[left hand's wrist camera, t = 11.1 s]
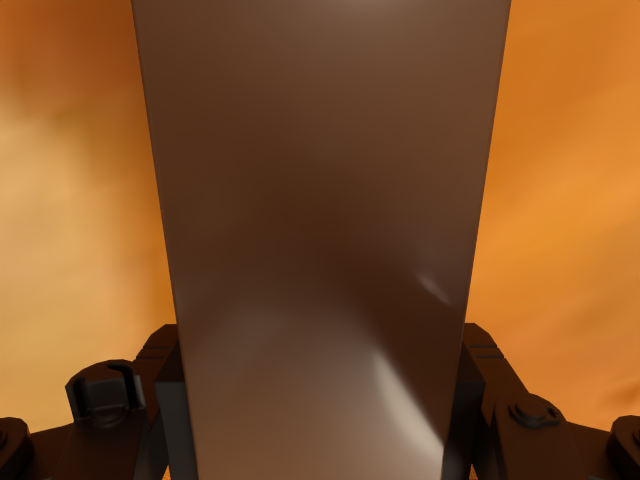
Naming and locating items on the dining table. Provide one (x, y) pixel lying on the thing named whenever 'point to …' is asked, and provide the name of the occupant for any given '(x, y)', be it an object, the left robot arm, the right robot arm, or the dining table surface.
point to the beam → (320, 222)
